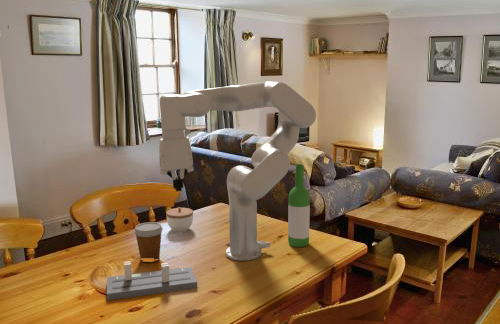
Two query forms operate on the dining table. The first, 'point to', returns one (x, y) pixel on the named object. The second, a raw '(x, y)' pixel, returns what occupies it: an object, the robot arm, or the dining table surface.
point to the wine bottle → (299, 211)
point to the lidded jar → (179, 219)
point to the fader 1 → (127, 270)
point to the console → (150, 283)
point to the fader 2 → (165, 272)
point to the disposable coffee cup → (149, 239)
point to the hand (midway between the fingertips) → (178, 190)
